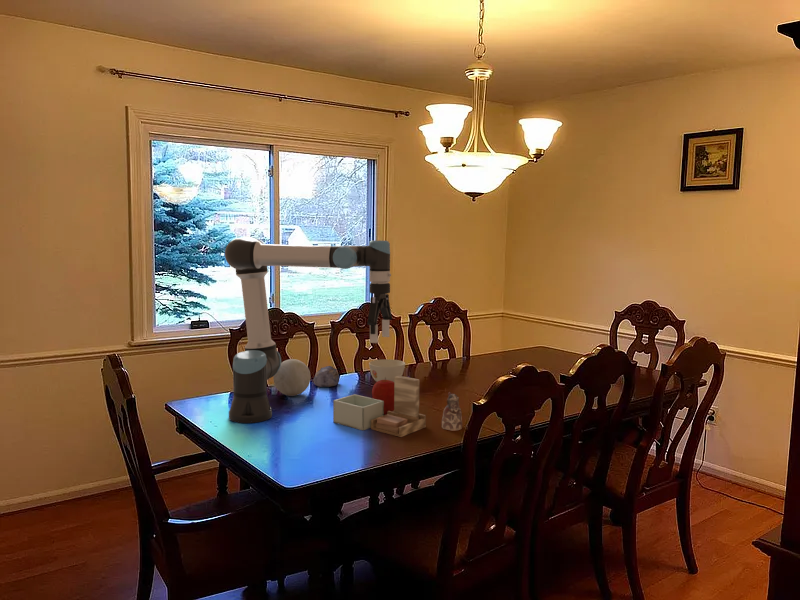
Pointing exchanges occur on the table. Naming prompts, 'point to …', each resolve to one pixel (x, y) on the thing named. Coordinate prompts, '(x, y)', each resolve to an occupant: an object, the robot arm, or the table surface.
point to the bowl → (386, 369)
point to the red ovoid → (384, 394)
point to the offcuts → (390, 423)
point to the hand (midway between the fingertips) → (379, 339)
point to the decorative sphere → (292, 377)
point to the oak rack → (406, 429)
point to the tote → (357, 411)
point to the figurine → (452, 414)
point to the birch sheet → (406, 396)
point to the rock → (326, 377)
